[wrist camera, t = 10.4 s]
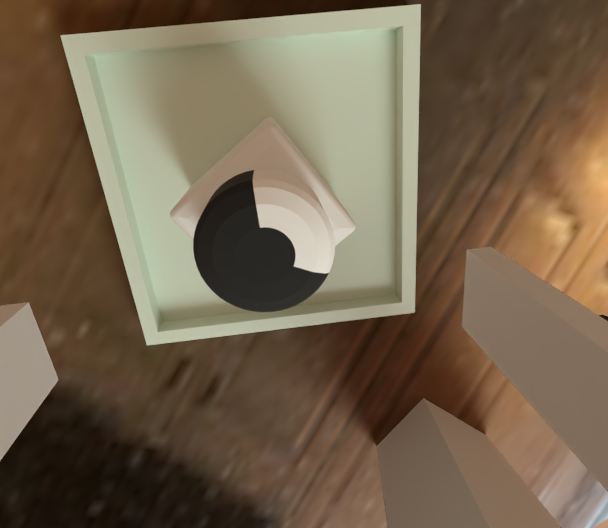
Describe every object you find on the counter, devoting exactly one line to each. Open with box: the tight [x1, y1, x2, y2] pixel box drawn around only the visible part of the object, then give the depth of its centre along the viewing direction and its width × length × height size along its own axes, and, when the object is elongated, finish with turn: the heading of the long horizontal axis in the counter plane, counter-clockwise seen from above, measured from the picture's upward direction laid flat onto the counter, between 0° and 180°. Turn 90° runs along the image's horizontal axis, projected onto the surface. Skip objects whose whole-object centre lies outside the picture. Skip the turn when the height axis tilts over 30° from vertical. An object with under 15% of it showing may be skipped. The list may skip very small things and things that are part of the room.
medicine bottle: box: [170, 117, 356, 312], centre depth 22 cm, size 7×7×12 cm
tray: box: [60, 4, 421, 345], centre depth 27 cm, size 20×20×2 cm
